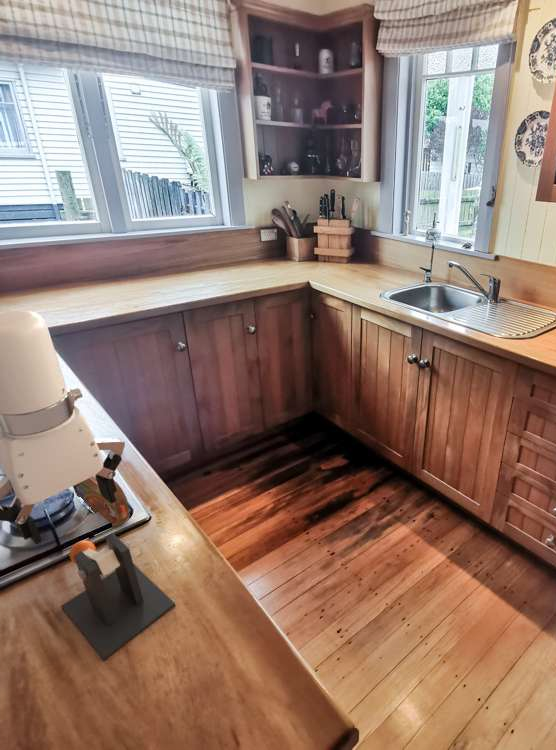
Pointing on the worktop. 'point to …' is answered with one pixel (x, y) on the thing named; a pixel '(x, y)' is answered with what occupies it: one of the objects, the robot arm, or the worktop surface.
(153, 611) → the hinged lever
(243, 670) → the worktop surface
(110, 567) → the lever with orange knob
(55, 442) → the robot arm
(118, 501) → the mottled brown oval slab
